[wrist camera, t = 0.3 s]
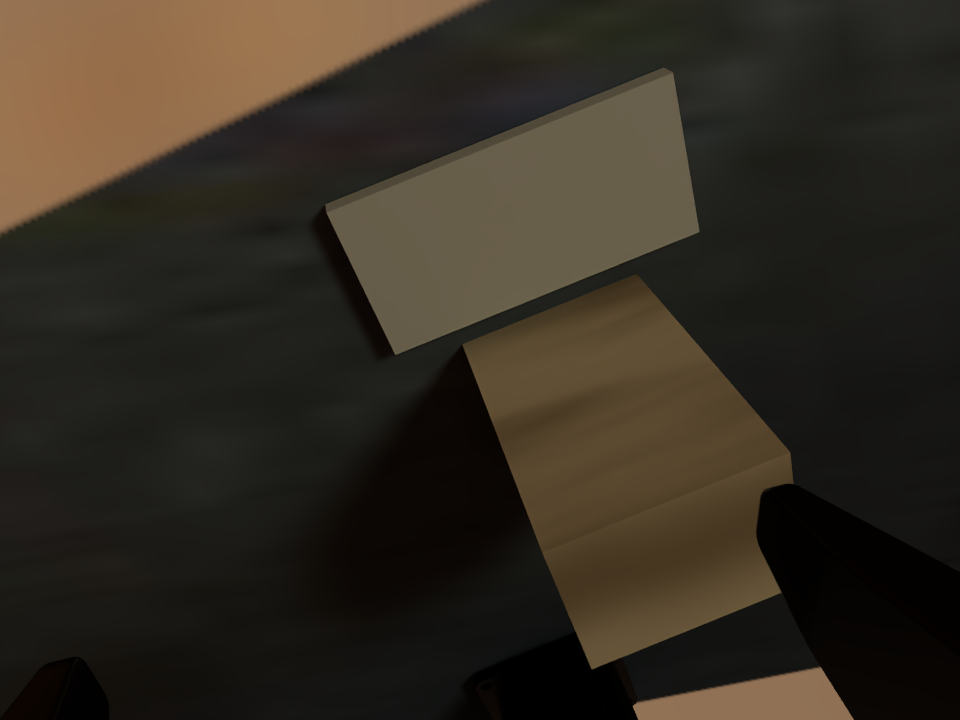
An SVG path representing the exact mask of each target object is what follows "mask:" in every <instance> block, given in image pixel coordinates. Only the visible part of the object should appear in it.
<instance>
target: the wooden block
mask: <svg viewBox="0 0 960 720" xmlns="http://www.w3.org/2000/svg"><path fill="white" fill-rule="evenodd" d="M462 345H463V347H464V350H465V353H466V355H467V358H468V360H469V363H470V366H471V368H472V371H473V373H474V376H475V379H476V381H477V384H478V386H479V389H480V392H481V394H482V397H483V399H484V402H485V405H486V407H487V410H488V412H489V415H490V418H491V420H492V423H493V425H494V428H495V431H496V433H497V436H498V438H499V441H500V444H501V446H502V449H503V451H504V454H505V457H506V459H507V462H508V464H509V467H510V470H511V472H512V475H513V477H514V480H515V483H516V485H517V488H518V490H519V493H520V496H521V498H522V501H523V503H524V506H525V509H526V511H527V514H528V516H529V519H530V522H531V524H532V527H533V529H534V532H535V535H536V537H537V540H538V542H539V545H540V548H541V550H542V553H543V555H544V558H545V560H546V562H547V565H548V567H549V569H550V572H551V574H552V576H553V579H554V581H555V584H556V586H557V588H558V591H559V593H560V595H561V598H562V600H563V602H564V605H565V607H566V610H567V612H568V614H569V617H570V619H571V621H572V624H573V626H574V629H575V631H576V633H577V636H578V638H579V640H580V643H581V645H582V647H583V650H584V652H585V655H586V657H587V659H588V662H589V664H590V666H591V669H594V668H597V667H599V666H601V665H604V664H606V663H609V662H611V661H614V660H616V659H619V658H621V657H624V656H626V655H629V654H631V653H634V652H636V651H638V650H641V649H643V648H646V647H648V646H651V645H653V644H656V643H658V642H661V641H663V640H666V639H668V638H670V637H673V636H675V635H678V634H680V633H683V632H685V631H688V630H690V629H693V628H695V627H698V626H700V625H703V624H705V623H707V622H710V621H712V620H715V619H717V618H720V617H722V616H725V615H727V614H730V613H732V612H735V611H737V610H739V609H742V608H744V607H747V606H749V605H752V604H754V603H757V602H759V601H762V600H764V599H767V598H769V597H772V596H774V595H776V594H779V593H781V591H780V589H779V587H778V585H777V583H776V581H775V579H774V576H773V574H772V572H771V570H770V568H769V566H768V564H767V562H766V560H765V558H764V556H763V554H762V552H761V550H760V548H759V545H758V542H757V538H756V525H757V517H758V510H759V502H760V496H761V493H762V492H763V490H765V489H767V488H770V487H774V486H779V485H783V484H788V483H789V484H793V476H792V466H791V457H790V452H789V450H788V449H787V448H786V447H785V446H784V445H783V444H782V442H781V441H780V440H779V439H778V438H777V437H776V435H775V434H774V433H773V432H772V431H771V430H770V428H769V427H768V426H767V425H766V424H765V423H764V421H763V420H762V419H761V418H760V417H759V416H758V414H757V413H756V412H755V411H754V410H753V409H752V407H751V406H750V405H749V404H748V403H747V402H746V401H745V399H744V398H743V397H742V396H741V395H740V394H739V392H738V391H737V390H736V389H735V388H734V387H733V385H732V384H731V383H730V382H729V381H728V380H727V378H726V377H725V376H724V375H723V374H722V373H721V371H720V370H719V369H718V368H717V367H716V366H715V364H714V363H713V362H712V361H711V360H710V359H709V358H708V356H707V355H706V354H705V353H704V352H703V351H702V349H701V348H700V347H699V346H698V345H697V344H696V342H695V341H694V340H693V339H692V338H691V337H690V335H689V334H688V333H687V332H686V331H685V330H684V328H683V327H682V326H681V325H680V324H679V323H678V321H677V320H676V319H675V318H674V317H673V316H672V314H671V313H670V312H669V311H668V310H667V309H666V308H665V306H664V305H663V304H662V303H661V302H660V301H659V299H658V298H657V297H656V296H655V295H654V294H653V292H652V291H651V290H650V289H649V288H648V287H647V285H646V284H645V283H644V282H643V281H642V280H641V278H640V277H639V276H638V275H637V274H635V275H633V276H630V277H628V278H625V279H623V280H620V281H618V282H615V283H613V284H610V285H608V286H605V287H603V288H600V289H598V290H596V291H593V292H591V293H588V294H586V295H583V296H581V297H578V298H576V299H573V300H571V301H568V302H566V303H563V304H561V305H558V306H556V307H554V308H551V309H549V310H546V311H544V312H541V313H539V314H536V315H534V316H531V317H529V318H526V319H524V320H521V321H519V322H516V323H514V324H512V325H509V326H507V327H504V328H502V329H499V330H497V331H494V332H492V333H489V334H487V335H484V336H482V337H479V338H477V339H474V340H472V341H469V342H467V343H465V344H462Z"/></svg>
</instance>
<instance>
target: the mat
mask: <svg viewBox="0 0 960 720" xmlns="http://www.w3.org/2000/svg"><path fill="white" fill-rule="evenodd" d="M325 206H326V213H327V215H328V217H329V219H330V221H331V223H332V225H333V227H334V229H335V232H336V234H337V236H338V238H339V240H340V242H341V244H342V246H343V248H344V250H345V252H346V254H347V256H348V258H349V260H350V262H351V264H352V267H353V269H354V271H355V273H356V275H357V277H358V279H359V281H360V283H361V285H362V287H363V289H364V291H365V293H366V295H367V297H368V300H369V302H370V304H371V306H372V308H373V310H374V312H375V314H376V316H377V318H378V320H379V322H380V324H381V326H382V328H383V330H384V333H385V335H386V337H387V339H388V341H389V343H390V345H391V347H392V349H393V351H394V353H395V355H396V354H399V353H401V352H404V351H406V350H409V349H411V348H414V347H416V346H419V345H421V344H424V343H426V342H428V341H431V340H433V339H436V338H438V337H441V336H443V335H446V334H448V333H451V332H453V331H456V330H458V329H461V328H463V327H466V326H468V325H470V324H473V323H475V322H478V321H480V320H483V319H485V318H488V317H490V316H493V315H495V314H498V313H500V312H503V311H505V310H508V309H510V308H512V307H515V306H517V305H520V304H522V303H525V302H527V301H530V300H532V299H535V298H537V297H540V296H542V295H545V294H547V293H550V292H552V291H554V290H557V289H559V288H562V287H564V286H567V285H569V284H572V283H574V282H577V281H579V280H582V279H584V278H587V277H589V276H592V275H594V274H596V273H599V272H601V271H604V270H606V269H609V268H611V267H614V266H616V265H619V264H621V263H624V262H626V261H629V260H631V259H634V258H636V257H639V256H641V255H643V254H646V253H648V252H651V251H653V250H656V249H658V248H661V247H663V246H666V245H668V244H671V243H673V242H676V241H678V240H681V239H683V238H685V237H688V236H690V235H693V234H695V233H698V232H699V227H698V221H697V215H696V209H695V203H694V197H693V191H692V185H691V179H690V173H689V167H688V161H687V155H686V148H685V142H684V136H683V130H682V124H681V118H680V112H679V106H678V100H677V94H676V88H675V82H674V76H673V72H671V71H669V70H667V69H665V68H661V69H659V70H657V71H654V72H652V73H649V74H647V75H644V76H642V77H639V78H637V79H634V80H632V81H629V82H627V83H624V84H622V85H619V86H617V87H614V88H612V89H610V90H607V91H605V92H602V93H600V94H597V95H595V96H592V97H590V98H587V99H585V100H582V101H580V102H577V103H575V104H572V105H570V106H568V107H565V108H563V109H560V110H558V111H555V112H553V113H550V114H548V115H545V116H543V117H540V118H538V119H535V120H533V121H530V122H528V123H525V124H523V125H521V126H518V127H516V128H513V129H511V130H508V131H506V132H503V133H501V134H498V135H496V136H493V137H491V138H488V139H486V140H483V141H481V142H478V143H476V144H474V145H471V146H469V147H466V148H464V149H461V150H459V151H456V152H454V153H451V154H449V155H446V156H444V157H441V158H439V159H436V160H434V161H431V162H429V163H427V164H424V165H422V166H419V167H417V168H414V169H412V170H409V171H407V172H404V173H402V174H399V175H397V176H394V177H392V178H389V179H387V180H385V181H382V182H380V183H377V184H375V185H372V186H370V187H367V188H365V189H362V190H360V191H357V192H355V193H352V194H350V195H347V196H345V197H342V198H340V199H338V200H335V201H333V202H330V203H328V204H325Z"/></svg>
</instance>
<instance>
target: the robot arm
mask: <svg viewBox="0 0 960 720" xmlns="http://www.w3.org/2000/svg"><path fill="white" fill-rule="evenodd" d="M756 538H757V542H758V545H759V548H760V550H761V552H762V554H763V556H764V558H765V560H766V562H767V564H768V566H769V568H770V570H771V572H772V574H773V576H774V579H775V581H776V583H777V585H778V587H779V589H780V591H781V593H782V595H783V597H784V599H785V601H786V603H787V605H788V607H789V609H790V611H791V613H792V615H793V617H794V619H795V621H796V623H797V625H798V627H799V629H800V631H801V633H802V635H803V637H804V639H805V641H806V643H807V645H808V647H809V648H810V650H811V652H812V653H813V655H814V657H815V658H816V660H817V662H818V663H819V665H820V667H821V668H822V670H823V671H824V673H825V674H826V676H827V678H828V679H829V681H830V682H831V684H832V685H833V687H834V689H835V690H836V692H837V693H838V695H839V697H840V698H841V700H842V701H843V703H844V705H845V706H846V708H847V709H848V711H849V713H850V714H851V716H852V717H853V719H854V720H960V572H959V571H957V570H955V569H953V568H951V567H949V566H947V565H945V564H944V563H942V562H940V561H938V560H936V559H934V558H932V557H930V556H929V555H927V554H925V553H923V552H921V551H919V550H917V549H915V548H914V547H912V546H910V545H908V544H906V543H904V542H902V541H900V540H899V539H897V538H895V537H893V536H891V535H889V534H887V533H885V532H884V531H882V530H880V529H878V528H876V527H874V526H872V525H870V524H869V523H867V522H865V521H863V520H861V519H859V518H857V517H855V516H854V515H852V514H850V513H848V512H846V511H844V510H842V509H840V508H839V507H837V506H835V505H833V504H831V503H829V502H827V501H825V500H824V499H822V498H820V497H818V496H816V495H814V494H812V493H810V492H809V491H807V490H805V489H803V488H801V487H799V486H797V485H794V484H789V483H788V484H783V485H779V486H774V487H770V488H767V489H765V490H763V492H762V493H761V496H760V502H759V510H758V517H757V525H756ZM474 685H475V689H476V692H477V694H478V695H479V697H480V698H481V700H482V702H483V703H484V705H485V707H486V708H487V710H488V712H489V713H490V715H491V717H492V718H493V720H638V718H637V716H636V713H635V711H634V709H633V705H634V704H636V702H637V696H636V694H635V691H634V688H633V686H632V683H631V680H630V678H629V675H628V672H627V670H626V667H625V664H624V662H623V659H622V657H621V658H619V659H616V660H614V661H611V662H609V663H606V664H604V665H601V666H599V667H597V668H594V669H591V666H590V664H589V662H588V659H587V657H586V655H585V652H584V650H583V647H582V645H581V643H580V640H579V638H578V636H577V634H576V635H573V636H571V637H568V638H566V639H563V640H561V641H559V642H556V643H554V644H551V645H549V646H546V647H544V648H541V649H539V650H536V651H534V652H531V653H529V654H526V655H524V656H522V657H519V658H517V659H514V660H512V661H509V662H507V663H504V664H502V665H499V666H497V667H494V668H492V669H489V670H487V671H485V672H482V673H480V674H478V675H477V676H476V677H475V678H474ZM0 720H109V705H108V700H107V697H106V694H105V692H104V691H103V689H102V687H101V686H100V684H99V683H98V681H97V680H96V678H95V676H94V675H93V673H92V672H91V670H90V668H89V667H88V665H87V664H86V662H85V661H84V660H83V659H81V658H79V657H72V658H67V659H63V660H59V661H55V662H51V663H48V664H46V665H44V666H43V667H42V668H41V669H39V671H38V672H37V673H36V674H35V675H34V677H33V678H32V679H31V680H30V682H29V683H28V684H27V686H26V687H25V688H24V689H23V691H22V692H21V693H20V694H19V696H18V697H17V698H16V699H15V701H14V702H13V703H12V704H11V706H10V707H9V708H8V710H7V711H6V712H5V713H4V715H3V716H2V717H1V718H0Z"/></svg>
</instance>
